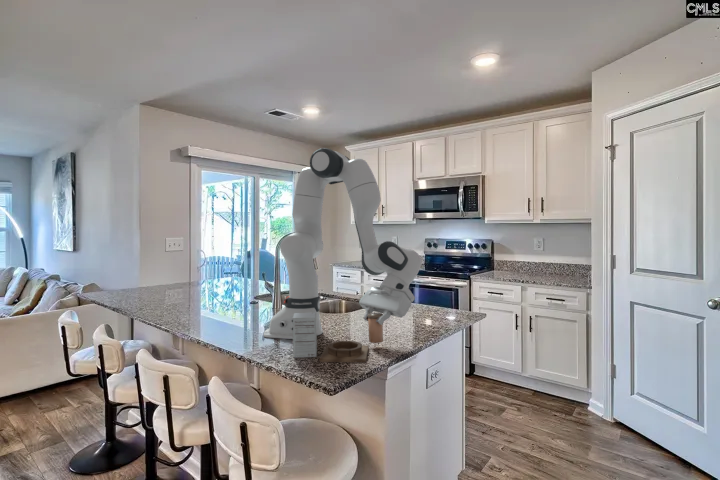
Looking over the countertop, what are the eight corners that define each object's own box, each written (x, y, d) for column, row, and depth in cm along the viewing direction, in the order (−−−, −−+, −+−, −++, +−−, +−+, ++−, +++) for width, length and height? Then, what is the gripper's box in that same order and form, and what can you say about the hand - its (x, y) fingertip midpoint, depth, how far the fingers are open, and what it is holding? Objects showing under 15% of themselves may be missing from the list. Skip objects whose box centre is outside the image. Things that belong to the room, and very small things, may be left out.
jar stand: (319, 361, 118) (319, 351, 118) (327, 347, 132) (327, 339, 132) (365, 362, 116) (365, 352, 116) (368, 348, 130) (368, 339, 130)
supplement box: (294, 350, 129) (294, 312, 129) (317, 349, 130) (316, 312, 129) (292, 358, 122) (292, 317, 121) (316, 357, 122) (316, 317, 122)
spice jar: (368, 343, 129) (367, 315, 129) (369, 339, 134) (368, 313, 134) (383, 342, 128) (382, 315, 128) (383, 339, 133) (382, 312, 133)
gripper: (368, 280, 143) (347, 310, 137) (409, 286, 127) (388, 321, 121) (377, 291, 146) (357, 321, 140) (418, 299, 130) (398, 333, 124)
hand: (371, 321), depth 130 cm, fingers closed on spice jar, 5 cm apart
